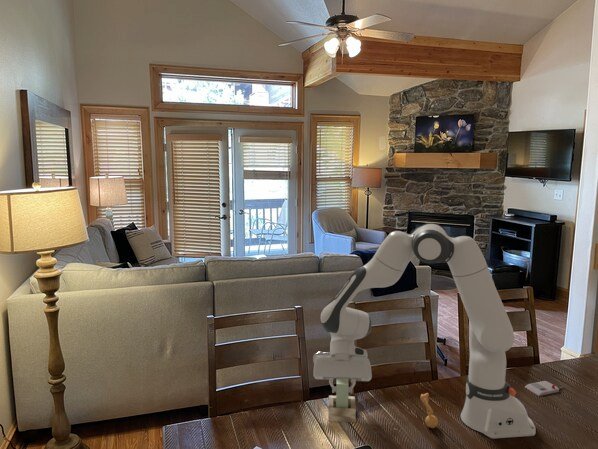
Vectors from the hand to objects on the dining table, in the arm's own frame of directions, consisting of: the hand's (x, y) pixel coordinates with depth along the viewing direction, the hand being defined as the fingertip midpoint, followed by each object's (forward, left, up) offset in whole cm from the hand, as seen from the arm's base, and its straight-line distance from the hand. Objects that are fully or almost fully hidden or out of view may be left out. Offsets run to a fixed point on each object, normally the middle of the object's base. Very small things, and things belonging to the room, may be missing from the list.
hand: (342, 392), depth 149 cm
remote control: (-76, -23, -9) cm, 80 cm away
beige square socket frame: (0, 0, -8) cm, 8 cm away
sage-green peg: (0, 0, -6) cm, 6 cm away
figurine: (-28, +5, -8) cm, 29 cm away
